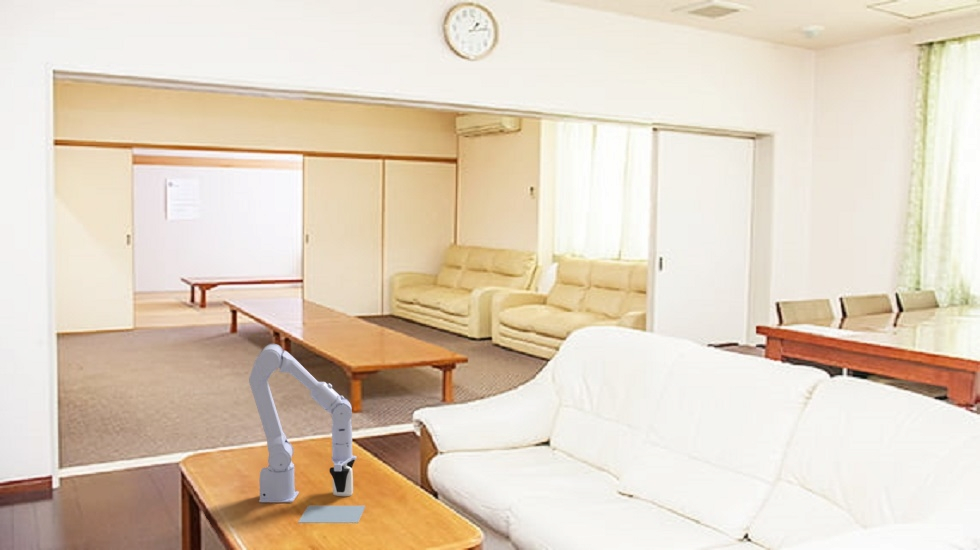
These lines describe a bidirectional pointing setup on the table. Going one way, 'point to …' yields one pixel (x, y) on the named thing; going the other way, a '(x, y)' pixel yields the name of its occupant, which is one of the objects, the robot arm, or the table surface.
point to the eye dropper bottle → (349, 484)
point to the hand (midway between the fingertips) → (343, 487)
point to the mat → (332, 514)
